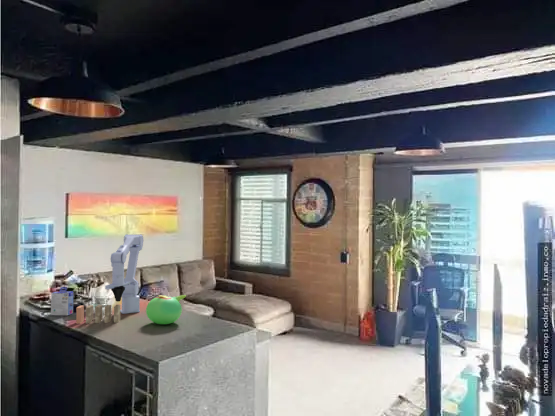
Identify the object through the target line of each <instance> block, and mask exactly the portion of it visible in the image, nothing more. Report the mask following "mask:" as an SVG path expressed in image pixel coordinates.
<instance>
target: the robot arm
mask: <svg viewBox="0 0 555 416" xmlns="http://www.w3.org/2000/svg"><path fill="white" fill-rule="evenodd" d="M143 246H144V235H143V234H127V233H126V234H125V235H124V237H123V244H121V245H119V247H118V248H117V249H116V250H115V252H113V253H111V254H110V262H111V267H112V271H111V273H112V274H111V275H112V278H111V279H112V282H111V283H110V284H106V285H105V286H104V289H105V290H111V291H112V294H113V295H114V299H115V302H118V303H119V302H121V309H120V314H122V315H123V314H132V313H134V314H135V313H140V311H141V310H140V309H141V307H140V306H141V305H140V304H141V303H140V295H139V292H140V291H139V281H138V280H136V279H135V277H136V271H137V265H138V259H139V253H140V251H142V250H143V248H144V247H143ZM128 254H129V256H128ZM127 256H128V262H127V268H126V273H125V263H126V261H127Z"/></svg>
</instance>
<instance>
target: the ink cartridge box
mask: <svg viewBox="0 0 555 416" xmlns="http://www.w3.org/2000/svg"><path fill="white" fill-rule="evenodd" d="M67 290H68V287H66V286H65V287H63V286H61V287H60V288H59V291H54V292H52V293H50V294H51V295H50V301H51V302H50V316H70V315H72V314H74V291H73V290H72V291H67Z"/></svg>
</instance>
